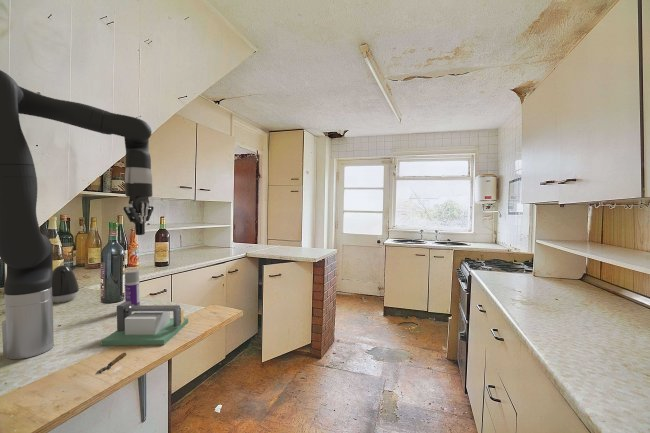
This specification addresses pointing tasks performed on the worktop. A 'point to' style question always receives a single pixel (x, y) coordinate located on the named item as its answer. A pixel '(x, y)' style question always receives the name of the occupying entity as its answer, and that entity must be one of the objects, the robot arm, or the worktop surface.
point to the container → (132, 287)
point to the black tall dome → (64, 284)
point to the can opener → (112, 362)
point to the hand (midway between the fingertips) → (140, 234)
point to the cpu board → (144, 338)
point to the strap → (174, 308)
